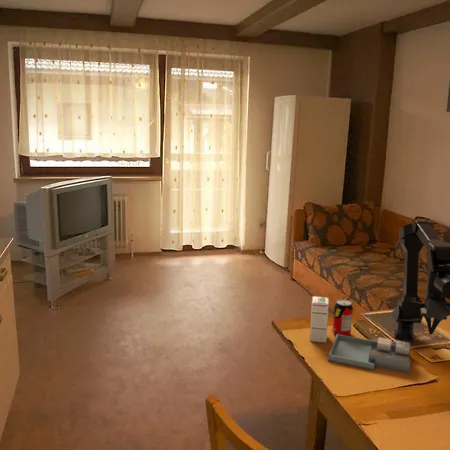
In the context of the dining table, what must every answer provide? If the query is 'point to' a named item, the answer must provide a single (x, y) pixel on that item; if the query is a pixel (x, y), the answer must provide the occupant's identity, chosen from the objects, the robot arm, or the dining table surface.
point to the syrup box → (319, 319)
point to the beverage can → (342, 317)
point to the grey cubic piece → (402, 348)
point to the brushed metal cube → (384, 345)
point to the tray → (351, 351)
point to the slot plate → (389, 358)
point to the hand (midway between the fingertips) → (430, 333)
